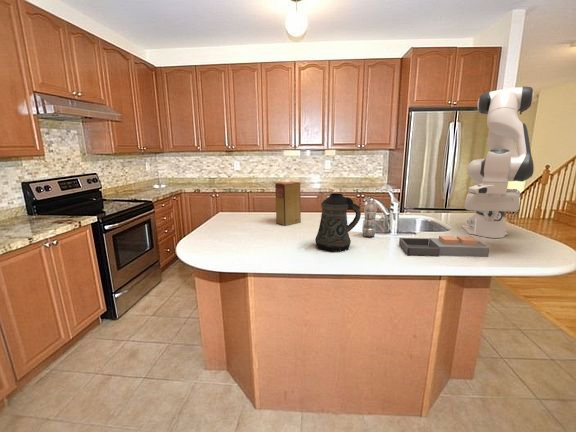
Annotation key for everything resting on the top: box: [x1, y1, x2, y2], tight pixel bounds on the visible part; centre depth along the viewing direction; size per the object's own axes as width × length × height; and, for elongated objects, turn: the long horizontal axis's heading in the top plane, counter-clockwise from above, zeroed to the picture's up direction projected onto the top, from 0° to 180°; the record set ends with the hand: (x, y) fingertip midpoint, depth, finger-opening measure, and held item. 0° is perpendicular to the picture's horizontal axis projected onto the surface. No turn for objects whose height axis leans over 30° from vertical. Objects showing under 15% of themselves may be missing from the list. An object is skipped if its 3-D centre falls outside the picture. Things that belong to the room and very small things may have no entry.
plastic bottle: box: [362, 197, 378, 237], centre depth 152 cm, size 6×7×20 cm
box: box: [398, 237, 440, 257], centre depth 132 cm, size 14×13×4 cm
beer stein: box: [315, 192, 362, 253], centre depth 137 cm, size 16×19×25 cm
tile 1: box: [438, 235, 459, 245], centre depth 130 cm, size 6×6×2 cm
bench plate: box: [428, 237, 490, 258], centre depth 130 cm, size 12×20×4 cm, turn 84°
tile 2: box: [455, 235, 479, 245], centre depth 129 cm, size 6×6×2 cm
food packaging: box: [274, 181, 302, 227], centre depth 180 cm, size 13×9×25 cm
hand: (489, 221), depth 126 cm, fingers closed
